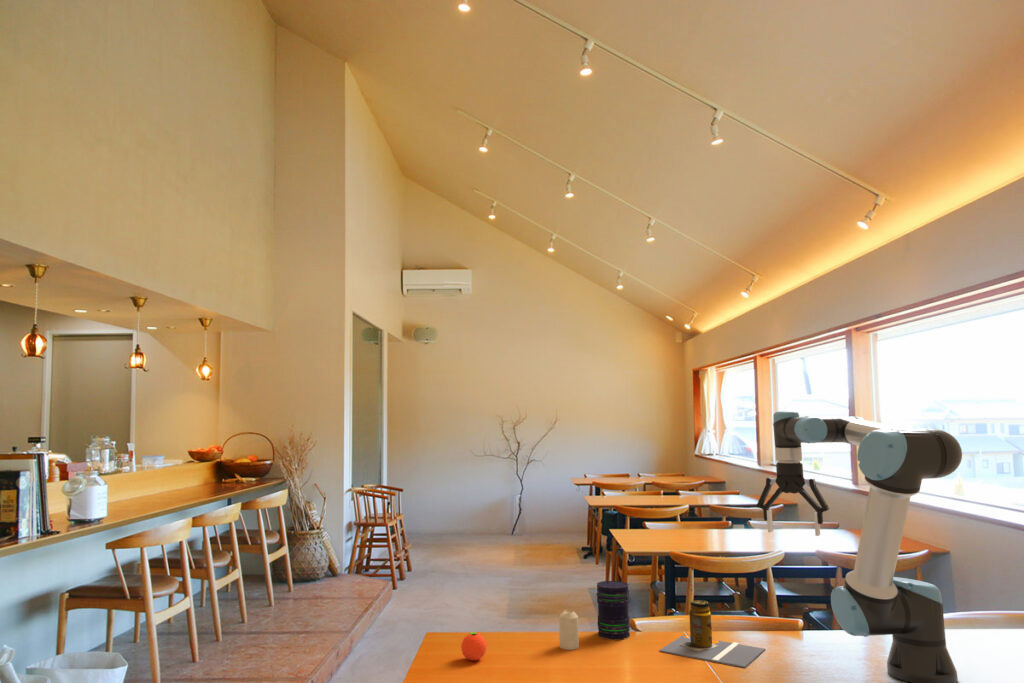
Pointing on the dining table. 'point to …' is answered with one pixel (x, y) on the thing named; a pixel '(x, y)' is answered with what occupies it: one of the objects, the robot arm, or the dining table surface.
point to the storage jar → (613, 610)
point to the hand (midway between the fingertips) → (793, 533)
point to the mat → (717, 652)
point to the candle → (568, 630)
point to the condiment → (700, 626)
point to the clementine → (473, 646)
